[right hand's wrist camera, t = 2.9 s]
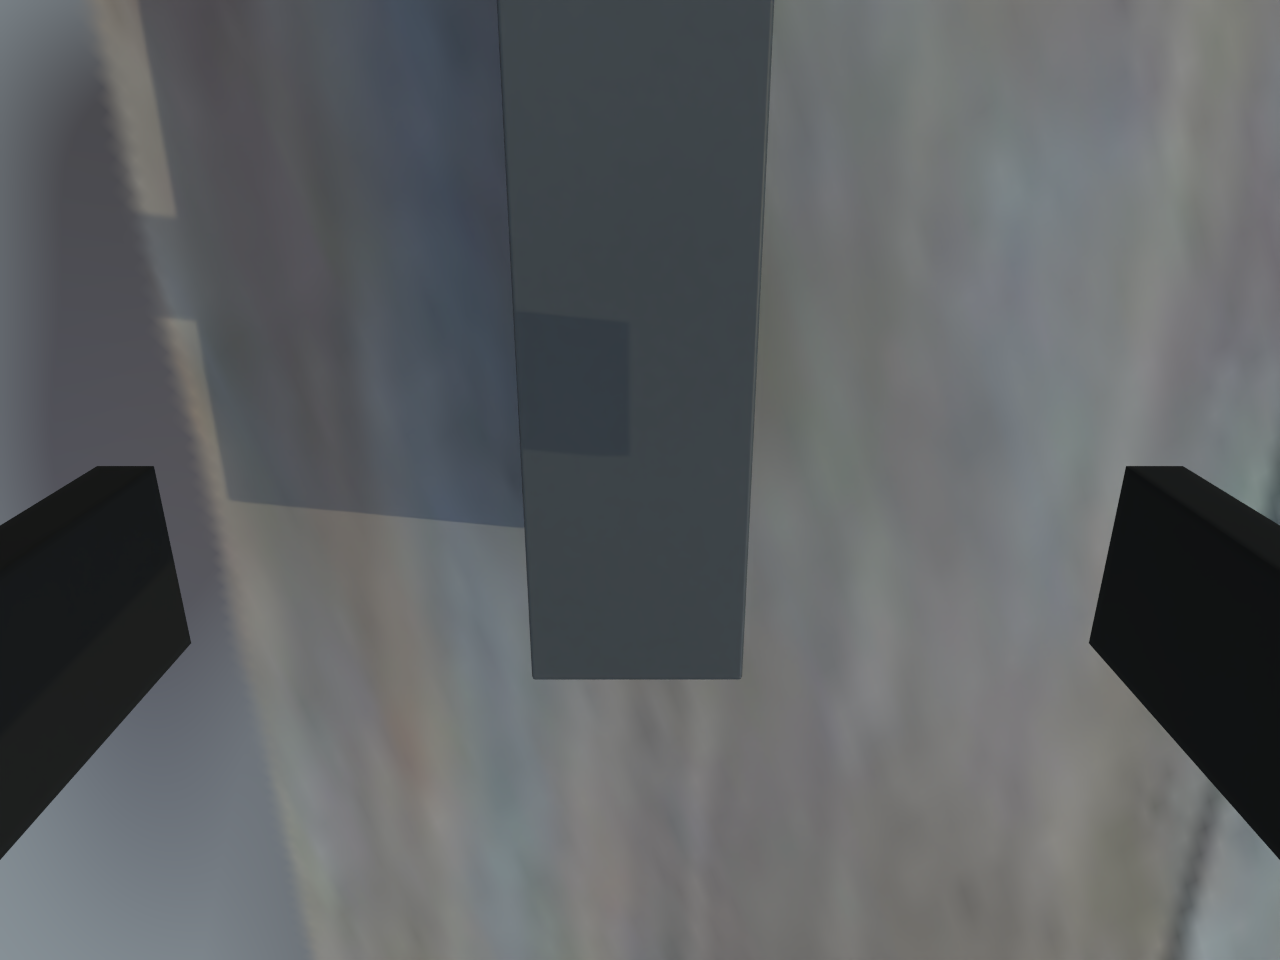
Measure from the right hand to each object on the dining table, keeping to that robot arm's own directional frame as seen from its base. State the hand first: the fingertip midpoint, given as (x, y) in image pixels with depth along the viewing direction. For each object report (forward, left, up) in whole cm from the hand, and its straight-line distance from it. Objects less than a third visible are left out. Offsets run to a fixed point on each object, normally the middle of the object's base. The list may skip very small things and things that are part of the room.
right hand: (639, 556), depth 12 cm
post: (+13, +23, -14) cm, 29 cm away
